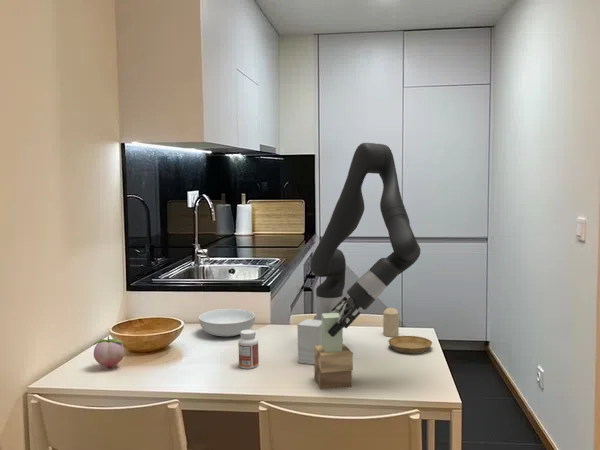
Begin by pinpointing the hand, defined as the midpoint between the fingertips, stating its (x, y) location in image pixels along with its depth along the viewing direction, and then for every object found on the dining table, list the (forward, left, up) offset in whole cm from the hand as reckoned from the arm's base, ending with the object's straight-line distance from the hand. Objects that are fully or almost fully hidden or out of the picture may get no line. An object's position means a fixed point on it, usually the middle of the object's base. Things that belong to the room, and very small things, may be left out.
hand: (327, 330), depth 174 cm
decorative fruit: (-62, -30, -16) cm, 71 cm away
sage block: (+1, +1, -6) cm, 6 cm away
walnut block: (+1, +1, -16) cm, 16 cm away
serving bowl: (-59, +19, -16) cm, 64 cm away
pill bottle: (-28, -3, -16) cm, 32 cm away
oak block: (+1, +1, -11) cm, 11 cm away
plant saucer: (+4, +43, -16) cm, 46 cm away
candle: (-9, +53, -16) cm, 56 cm away
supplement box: (-15, +13, -16) cm, 25 cm away
